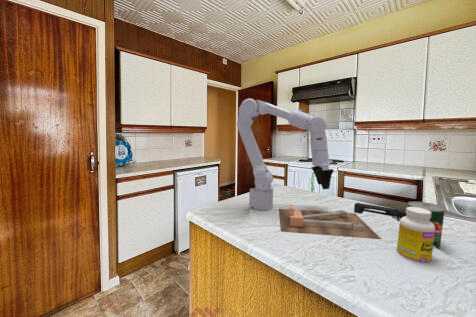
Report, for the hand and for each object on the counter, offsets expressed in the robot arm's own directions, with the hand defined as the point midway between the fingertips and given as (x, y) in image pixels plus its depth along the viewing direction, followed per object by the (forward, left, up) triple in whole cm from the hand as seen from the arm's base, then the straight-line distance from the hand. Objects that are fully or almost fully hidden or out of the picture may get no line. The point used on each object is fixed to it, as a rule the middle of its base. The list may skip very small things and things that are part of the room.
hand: (323, 186), depth 80 cm
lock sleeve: (-11, -12, -10) cm, 19 cm away
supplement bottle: (+16, -26, -12) cm, 33 cm away
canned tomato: (+24, -16, -12) cm, 31 cm away
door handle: (+22, +2, -12) cm, 25 cm away
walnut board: (-2, -9, -11) cm, 15 cm away
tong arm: (-1, -7, -10) cm, 12 cm away
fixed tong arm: (-2, -13, -10) cm, 17 cm away
